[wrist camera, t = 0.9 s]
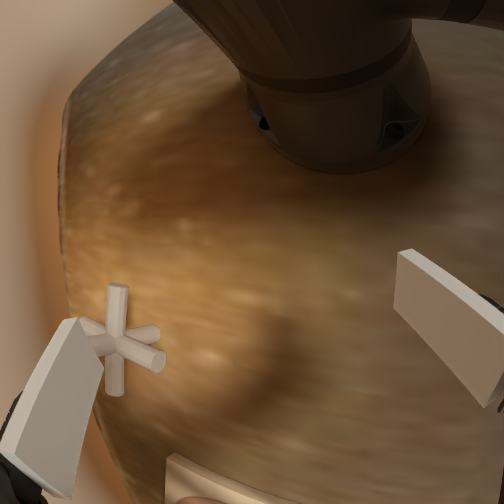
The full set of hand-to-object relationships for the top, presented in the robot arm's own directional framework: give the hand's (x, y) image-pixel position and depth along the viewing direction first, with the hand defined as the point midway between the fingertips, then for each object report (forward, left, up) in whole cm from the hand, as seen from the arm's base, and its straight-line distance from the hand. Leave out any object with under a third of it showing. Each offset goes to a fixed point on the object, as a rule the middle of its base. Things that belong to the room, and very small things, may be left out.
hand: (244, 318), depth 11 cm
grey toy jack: (+7, -14, -12) cm, 20 cm away
